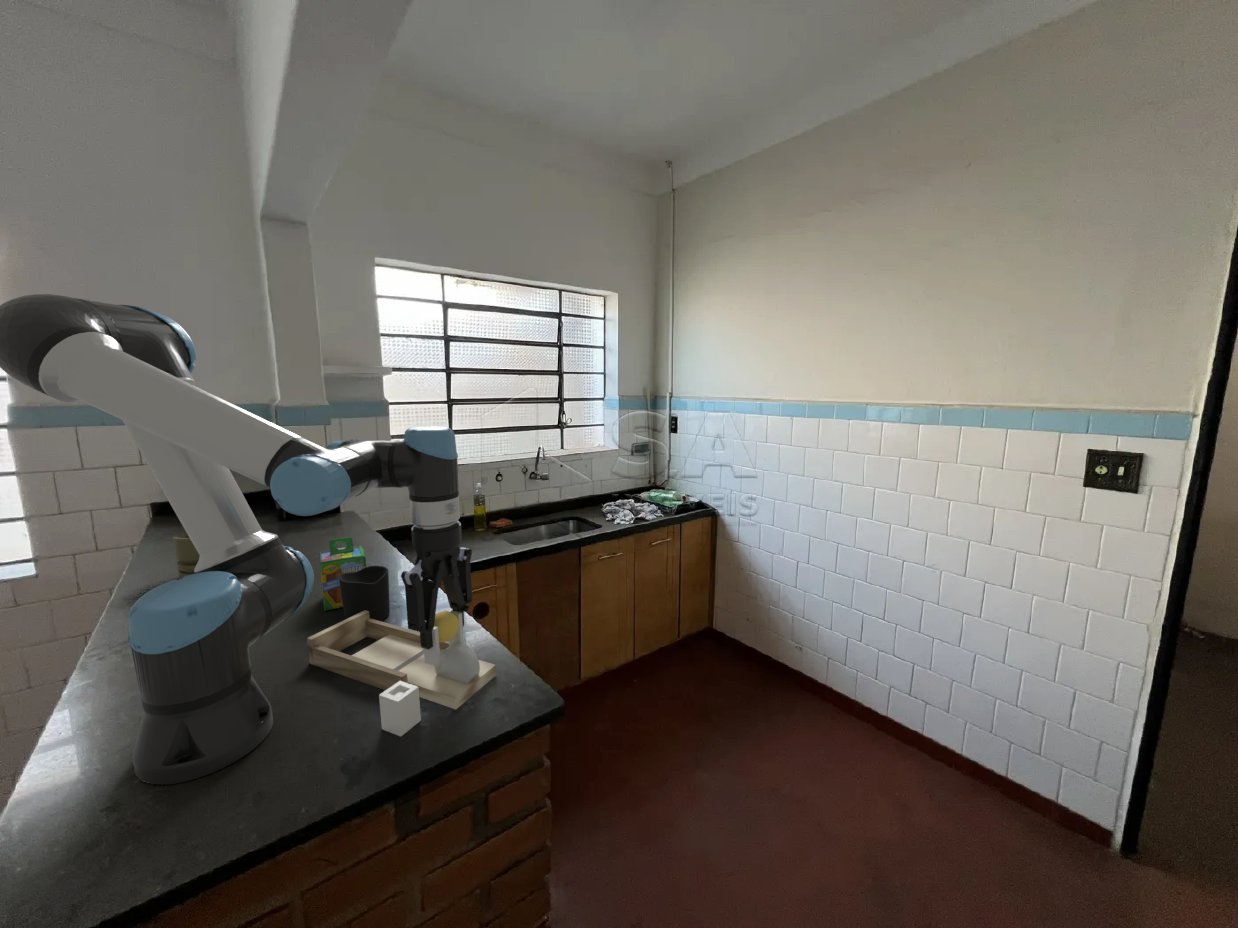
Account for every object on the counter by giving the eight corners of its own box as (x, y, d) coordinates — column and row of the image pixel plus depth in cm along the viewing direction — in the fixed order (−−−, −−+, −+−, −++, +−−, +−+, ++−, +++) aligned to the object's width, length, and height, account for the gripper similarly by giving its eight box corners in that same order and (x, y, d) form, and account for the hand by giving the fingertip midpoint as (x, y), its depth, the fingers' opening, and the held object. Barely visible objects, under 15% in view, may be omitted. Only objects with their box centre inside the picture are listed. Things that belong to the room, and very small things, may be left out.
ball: (445, 650, 80) (443, 622, 79) (421, 644, 82) (419, 616, 81) (466, 636, 84) (464, 608, 83) (443, 630, 86) (441, 603, 85)
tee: (400, 736, 71) (397, 701, 70) (381, 729, 73) (378, 694, 72) (420, 720, 75) (418, 686, 74) (402, 713, 76) (399, 680, 75)
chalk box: (324, 612, 109) (317, 548, 107) (323, 597, 117) (317, 537, 115) (370, 602, 114) (364, 541, 112) (366, 588, 122) (361, 531, 119)
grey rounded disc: (468, 695, 81) (466, 656, 79) (435, 685, 83) (433, 646, 82) (480, 685, 83) (478, 647, 82) (448, 675, 86) (446, 638, 85)
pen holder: (384, 625, 103) (380, 581, 102) (336, 629, 102) (331, 583, 100) (396, 605, 113) (393, 564, 111) (352, 608, 111) (348, 566, 109)
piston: (163, 540, 121) (186, 527, 131) (170, 587, 123) (193, 570, 133) (218, 536, 124) (237, 524, 135) (224, 581, 126) (242, 565, 137)
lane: (451, 713, 76) (449, 684, 76) (309, 663, 90) (306, 638, 89) (499, 672, 87) (498, 646, 86) (366, 633, 100) (364, 610, 100)
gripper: (409, 542, 70) (420, 690, 74) (490, 511, 86) (496, 634, 90) (372, 535, 73) (384, 678, 77) (457, 507, 89) (463, 626, 93)
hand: (444, 654), depth 84 cm, fingers closed on ball, 5 cm apart
